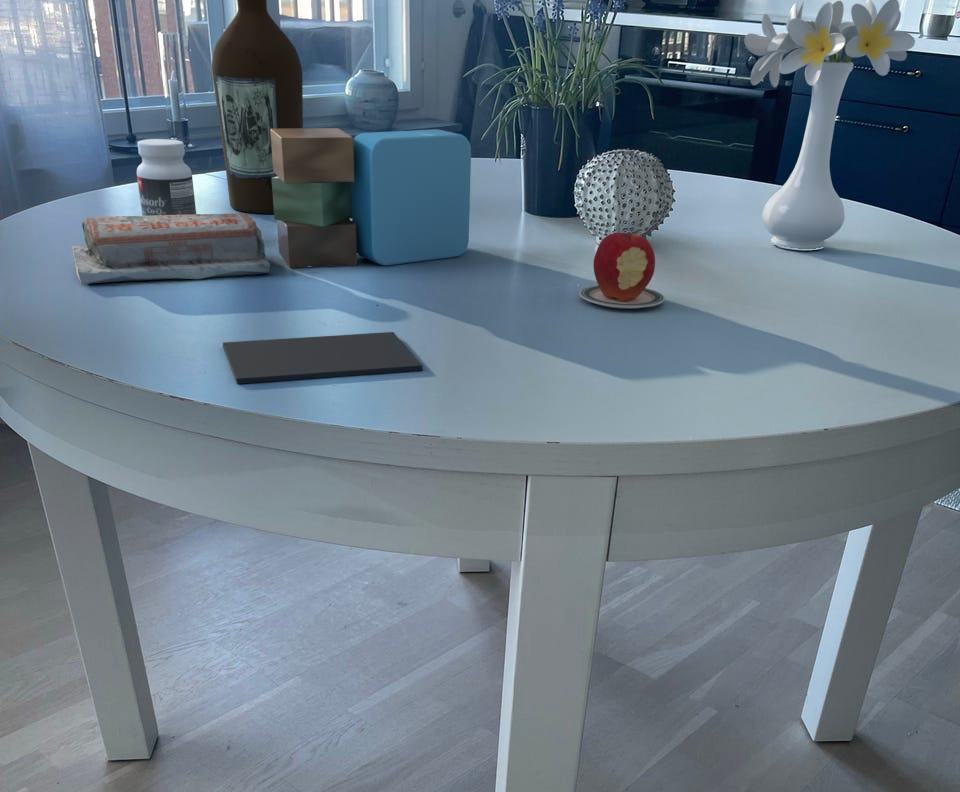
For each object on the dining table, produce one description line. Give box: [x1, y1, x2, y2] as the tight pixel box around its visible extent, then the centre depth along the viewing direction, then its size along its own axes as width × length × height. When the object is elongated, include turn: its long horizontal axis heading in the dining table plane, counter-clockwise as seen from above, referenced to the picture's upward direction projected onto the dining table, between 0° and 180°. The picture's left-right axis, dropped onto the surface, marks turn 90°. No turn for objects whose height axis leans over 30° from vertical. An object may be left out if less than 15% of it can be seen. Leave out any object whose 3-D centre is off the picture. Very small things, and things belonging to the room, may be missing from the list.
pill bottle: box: [136, 138, 197, 216], centre depth 109 cm, size 6×6×10 cm
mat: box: [222, 331, 423, 385], centre depth 79 cm, size 14×9×1 cm, turn 108°
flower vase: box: [743, 0, 916, 249], centre depth 113 cm, size 13×18×25 cm
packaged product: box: [72, 212, 271, 285], centre depth 100 cm, size 18×5×10 cm
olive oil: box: [211, 0, 304, 215], centre depth 123 cm, size 11×11×25 cm
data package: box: [351, 128, 472, 267], centre depth 106 cm, size 12×4×12 cm, turn 125°
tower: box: [270, 127, 358, 269], centre depth 104 cm, size 8×8×12 cm
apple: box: [579, 228, 665, 310], centre depth 95 cm, size 8×8×6 cm
